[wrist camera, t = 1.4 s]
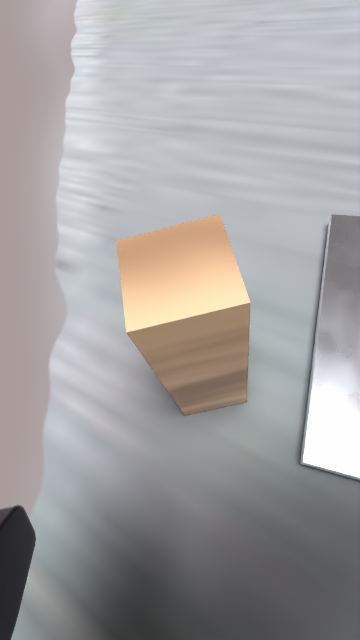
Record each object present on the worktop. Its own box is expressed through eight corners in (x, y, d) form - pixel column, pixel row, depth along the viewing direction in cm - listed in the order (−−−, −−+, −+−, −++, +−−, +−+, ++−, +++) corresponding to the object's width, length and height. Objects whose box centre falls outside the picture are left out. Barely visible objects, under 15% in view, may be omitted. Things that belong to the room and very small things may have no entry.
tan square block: (246, 401, 21) (250, 302, 10) (184, 415, 21) (126, 332, 10) (230, 345, 23) (219, 213, 12) (174, 358, 23) (116, 240, 12)
